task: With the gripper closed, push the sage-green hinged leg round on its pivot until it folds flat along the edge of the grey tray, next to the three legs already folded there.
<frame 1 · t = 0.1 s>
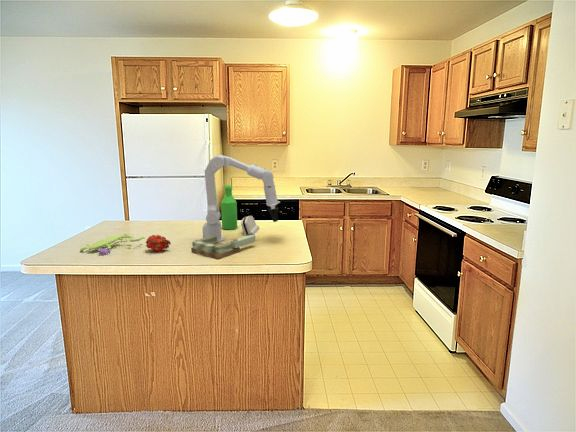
hand: (275, 219, 201), 11 cm above the table, tool pointing down, fingers open, 7 cm apart
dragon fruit: (158, 251, 185), on the table
hinged leg: (243, 240, 186), point 4 cm above the table, hinge at 0.0°
figurine: (114, 248, 190), on the table
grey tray: (215, 251, 183), on the table
bottle: (229, 228, 227), on the table
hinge: (250, 232, 219), on the table
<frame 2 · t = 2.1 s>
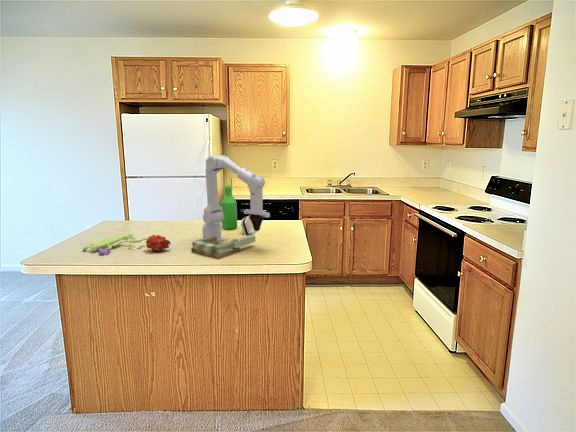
hand: (256, 230, 184), 9 cm above the table, tool pointing down, fingers closed
figurine: (117, 248, 189), on the table
everything else where it was.
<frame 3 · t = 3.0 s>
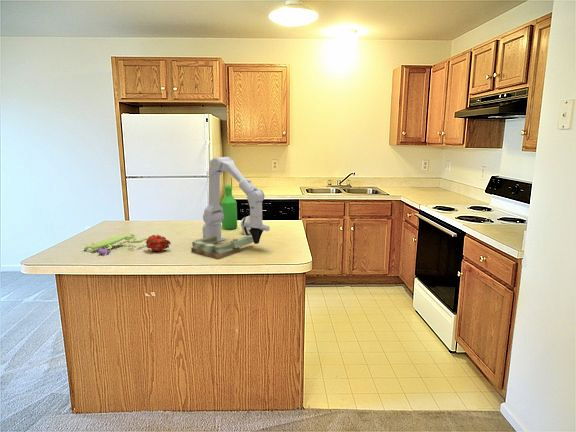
hand: (256, 243, 186), 3 cm above the table, tool pointing down, fingers closed
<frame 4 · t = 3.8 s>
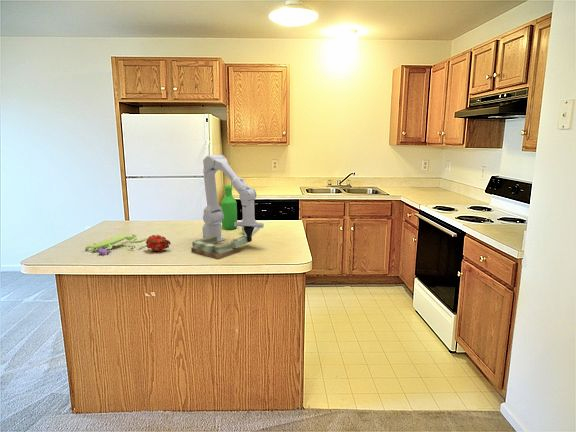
hand: (249, 241, 189), 3 cm above the table, tool pointing down, fingers closed, pressing on hinged leg
hinged leg: (241, 240, 187), point 4 cm above the table, hinge at 11.2°, touching gripper
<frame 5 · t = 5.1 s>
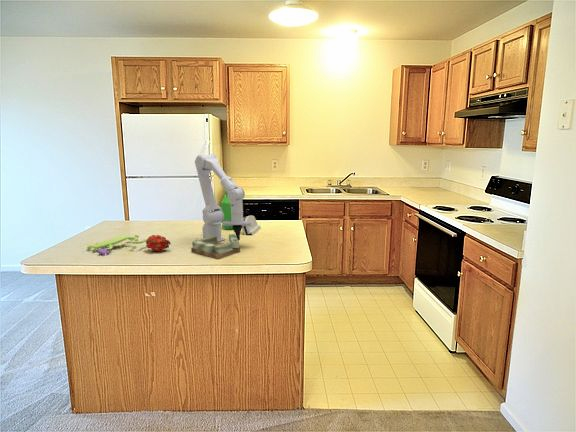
hand: (238, 240, 191), 3 cm above the table, tool pointing down, fingers closed, pressing on hinged leg
hinged leg: (233, 240, 187), point 4 cm above the table, hinge at 52.5°, touching gripper
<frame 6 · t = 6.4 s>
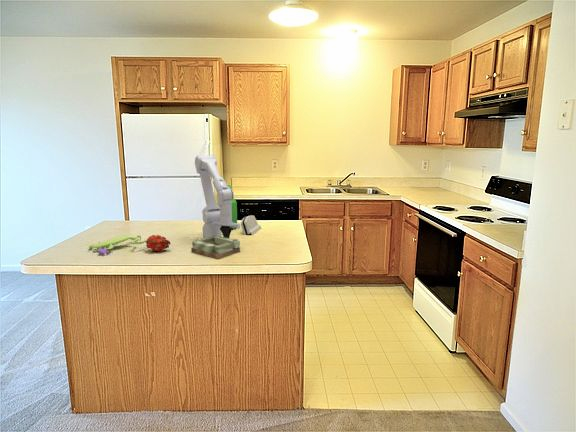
hand: (226, 241, 190), 3 cm above the table, tool pointing down, fingers closed, pressing on hinged leg
hinged leg: (226, 241, 185), point 4 cm above the table, hinge at 90.1°, touching gripper
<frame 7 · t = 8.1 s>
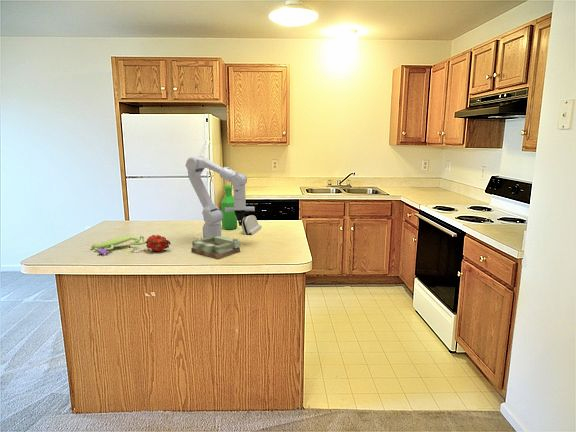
hand: (240, 225, 194), 9 cm above the table, tool pointing down, fingers closed
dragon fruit: (158, 251, 185), on the table, touching figurine
hinged leg: (226, 241, 185), point 4 cm above the table, hinge at 90.2°
figurine: (122, 249, 188), on the table, touching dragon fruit
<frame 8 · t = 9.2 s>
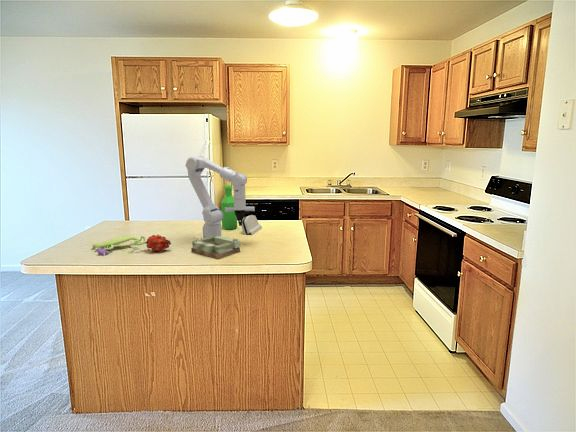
hand: (240, 225, 194), 9 cm above the table, tool pointing down, fingers closed
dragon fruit: (159, 251, 185), on the table
figurine: (123, 249, 188), on the table
at the end: hinged leg at +90° (first picture: +0°) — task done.
